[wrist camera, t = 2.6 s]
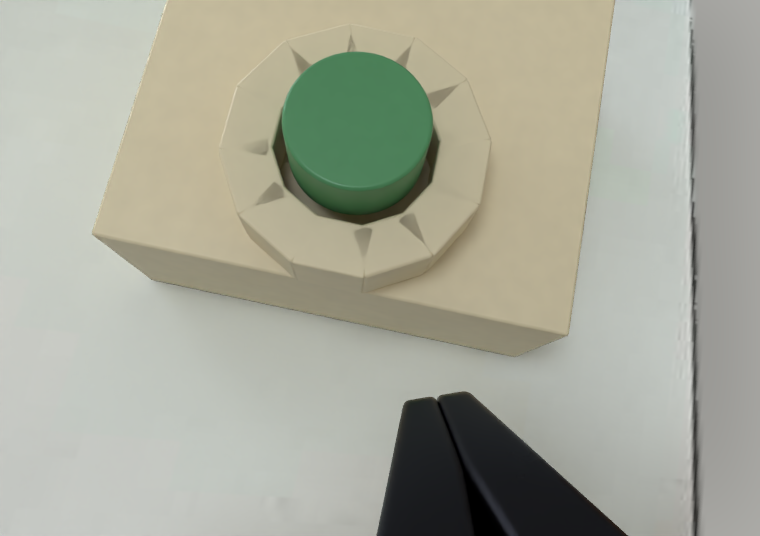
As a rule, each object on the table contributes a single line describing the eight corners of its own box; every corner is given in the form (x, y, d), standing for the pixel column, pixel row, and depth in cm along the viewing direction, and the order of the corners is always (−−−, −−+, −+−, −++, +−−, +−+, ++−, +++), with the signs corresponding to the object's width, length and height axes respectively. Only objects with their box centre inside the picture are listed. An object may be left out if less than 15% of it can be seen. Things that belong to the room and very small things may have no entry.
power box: (516, 358, 21) (596, 327, 15) (149, 281, 21) (58, 213, 15) (560, 81, 24) (645, -57, 17) (229, 10, 24) (183, -156, 17)
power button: (410, 229, 15) (418, 204, 14) (273, 200, 15) (264, 171, 14) (435, 104, 16) (446, 67, 14) (305, 76, 16) (300, 36, 14)
